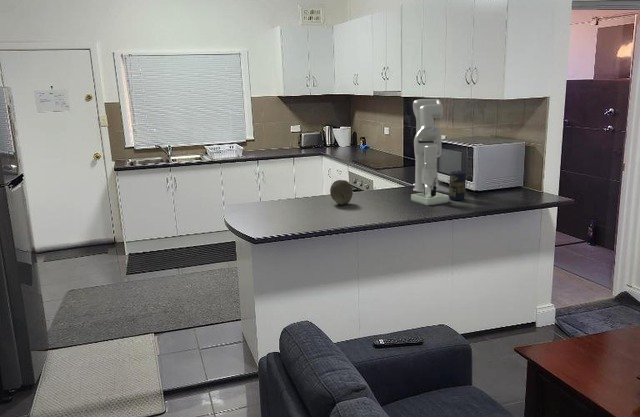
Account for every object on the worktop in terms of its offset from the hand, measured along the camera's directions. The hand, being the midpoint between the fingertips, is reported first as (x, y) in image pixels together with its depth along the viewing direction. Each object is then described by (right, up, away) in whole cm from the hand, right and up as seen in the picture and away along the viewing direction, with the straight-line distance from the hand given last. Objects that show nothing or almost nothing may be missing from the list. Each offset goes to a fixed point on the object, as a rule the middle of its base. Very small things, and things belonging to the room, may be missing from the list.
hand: (429, 194), depth 316 cm
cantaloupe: (-53, -6, +1) cm, 54 cm away
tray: (0, -4, +1) cm, 4 cm away
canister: (+18, -3, +4) cm, 18 cm away
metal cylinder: (0, -2, 0) cm, 2 cm away
